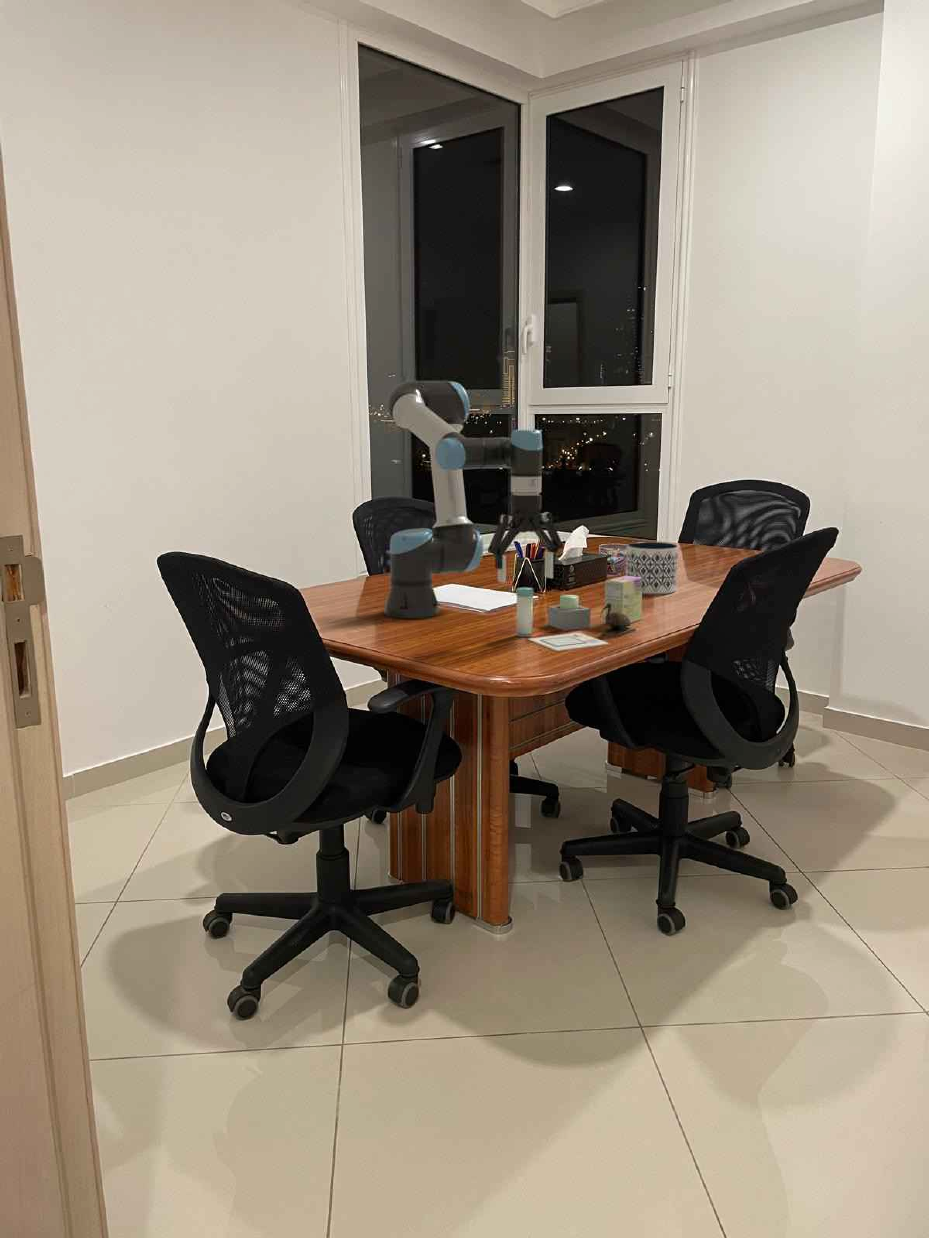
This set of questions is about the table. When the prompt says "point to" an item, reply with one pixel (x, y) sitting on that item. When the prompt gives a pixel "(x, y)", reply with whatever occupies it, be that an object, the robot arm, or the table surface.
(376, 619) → the table surface
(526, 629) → the white teal cylinder
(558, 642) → the sheet
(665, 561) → the planter
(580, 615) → the button box
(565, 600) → the button
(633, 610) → the box
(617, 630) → the figurine
